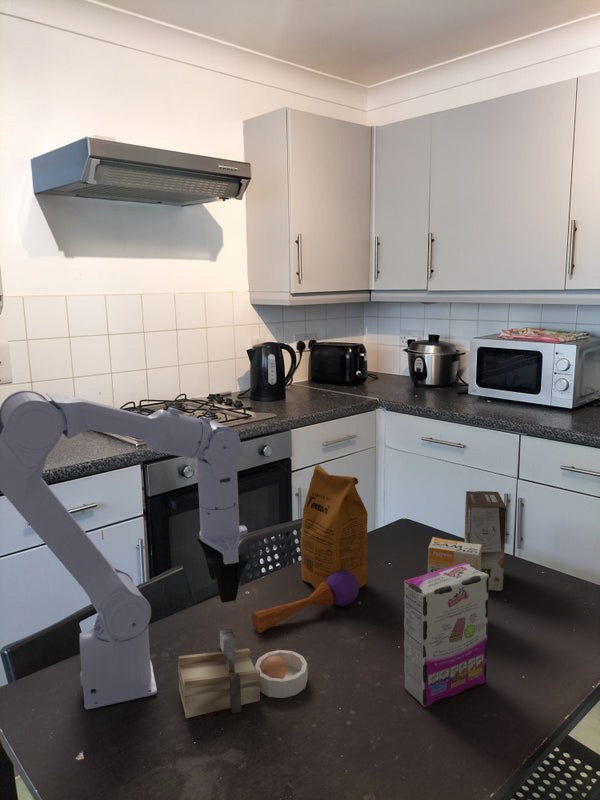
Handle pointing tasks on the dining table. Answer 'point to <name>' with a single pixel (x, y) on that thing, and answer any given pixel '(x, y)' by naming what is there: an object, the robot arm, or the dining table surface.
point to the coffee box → (487, 532)
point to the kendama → (312, 600)
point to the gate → (228, 649)
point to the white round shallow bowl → (291, 681)
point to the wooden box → (217, 682)
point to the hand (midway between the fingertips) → (222, 588)
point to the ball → (275, 667)
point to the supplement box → (452, 554)
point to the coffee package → (333, 529)
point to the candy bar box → (445, 632)
